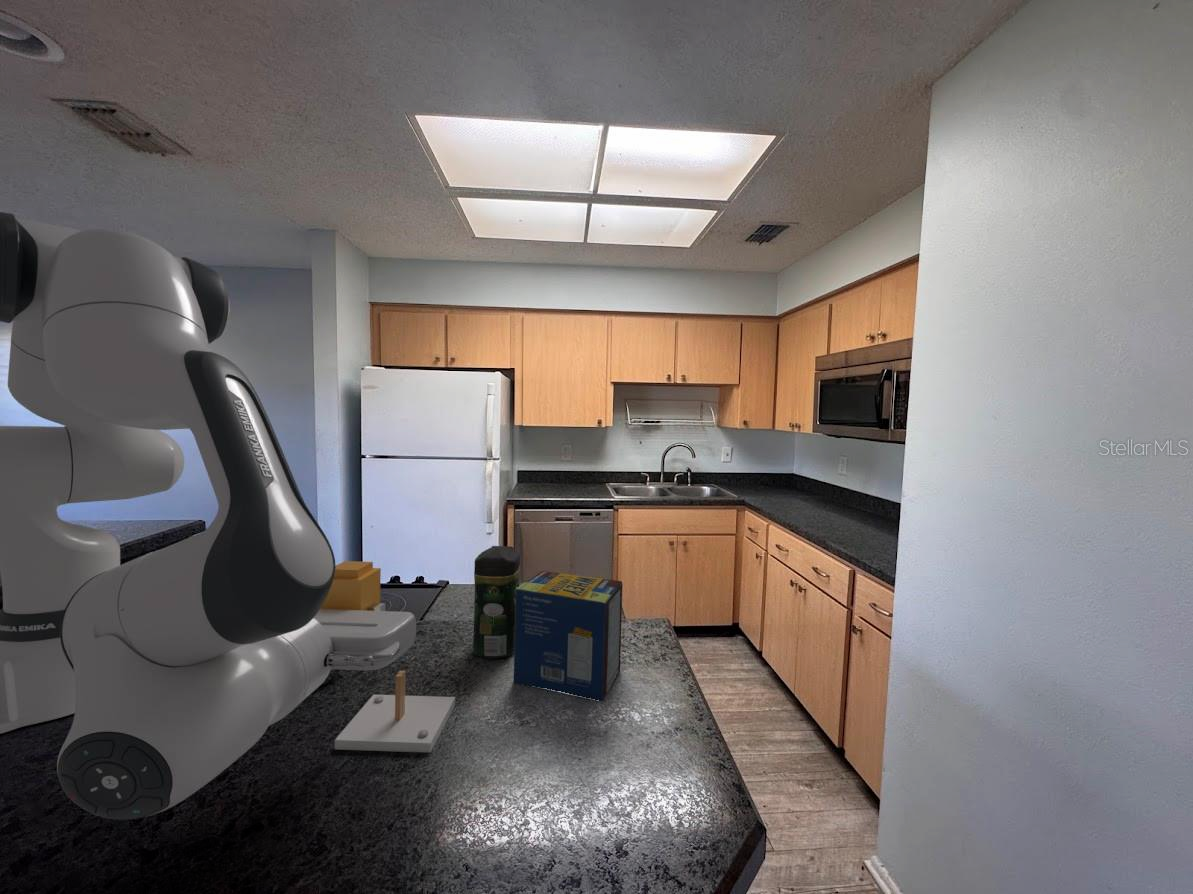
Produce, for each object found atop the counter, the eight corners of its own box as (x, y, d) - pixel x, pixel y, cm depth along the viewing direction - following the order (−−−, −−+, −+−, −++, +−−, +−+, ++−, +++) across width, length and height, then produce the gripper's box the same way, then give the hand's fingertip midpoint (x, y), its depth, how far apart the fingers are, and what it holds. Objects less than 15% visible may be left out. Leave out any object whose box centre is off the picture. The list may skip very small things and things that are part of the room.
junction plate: (334, 749, 58) (335, 692, 58) (373, 702, 68) (374, 654, 68) (430, 752, 58) (431, 696, 58) (455, 705, 68) (456, 656, 68)
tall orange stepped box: (318, 668, 56) (319, 570, 56) (341, 649, 61) (342, 559, 61) (359, 670, 56) (360, 571, 56) (379, 650, 61) (380, 560, 61)
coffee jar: (481, 635, 91) (483, 542, 90) (521, 637, 91) (524, 543, 90) (466, 660, 81) (469, 555, 80) (511, 662, 81) (514, 556, 80)
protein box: (539, 654, 84) (541, 569, 84) (621, 670, 79) (624, 580, 79) (511, 683, 74) (513, 588, 74) (603, 703, 70) (606, 601, 69)
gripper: (385, 633, 45) (436, 586, 59) (178, 625, 46) (277, 581, 59) (384, 696, 46) (435, 635, 59) (178, 689, 46) (276, 629, 60)
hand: (354, 608), depth 59 cm, fingers closed on tall orange stepped box, 5 cm apart
